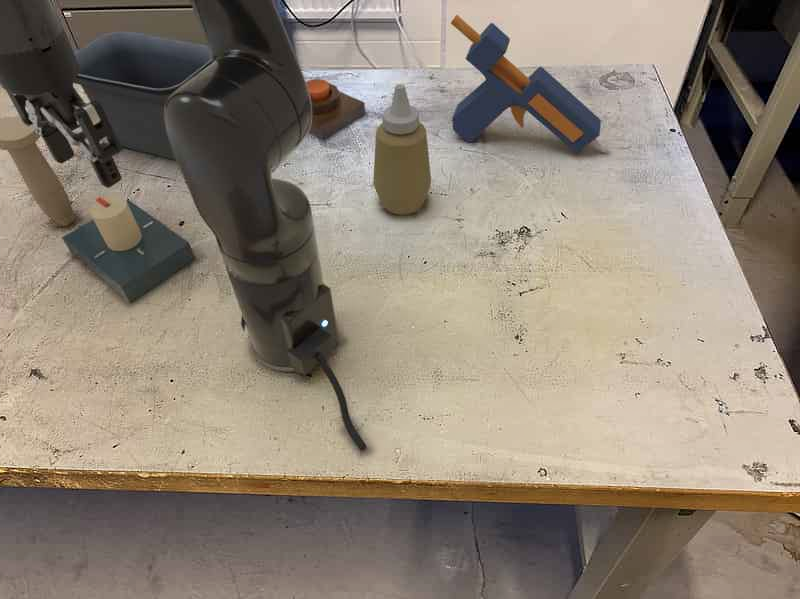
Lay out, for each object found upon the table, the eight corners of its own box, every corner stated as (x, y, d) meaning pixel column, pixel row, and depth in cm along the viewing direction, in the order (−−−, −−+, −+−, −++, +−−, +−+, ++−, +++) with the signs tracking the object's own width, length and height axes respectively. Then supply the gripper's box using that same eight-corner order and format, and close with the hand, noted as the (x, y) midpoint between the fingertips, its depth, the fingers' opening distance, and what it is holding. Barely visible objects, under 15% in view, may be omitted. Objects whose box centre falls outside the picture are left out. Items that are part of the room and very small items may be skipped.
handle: (68, 237, 82) (12, 144, 71) (35, 224, 84) (-24, 132, 73) (94, 216, 85) (44, 124, 74) (62, 204, 87) (9, 112, 76)
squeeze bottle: (365, 195, 87) (355, 80, 73) (414, 179, 89) (413, 64, 76) (390, 228, 82) (384, 111, 69) (441, 209, 84) (445, 92, 71)
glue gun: (546, 204, 100) (619, 150, 90) (398, 96, 90) (460, 20, 79) (547, 180, 104) (617, 125, 93) (405, 74, 94) (465, -1, 83)
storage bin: (89, 151, 96) (47, 66, 85) (150, 103, 105) (119, 21, 95) (199, 180, 90) (170, 93, 80) (253, 126, 100) (233, 42, 89)
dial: (148, 237, 77) (132, 203, 73) (119, 256, 75) (100, 221, 71) (129, 223, 79) (113, 188, 75) (100, 241, 77) (81, 206, 73)
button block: (365, 114, 101) (363, 92, 98) (323, 140, 96) (320, 118, 93) (316, 91, 107) (313, 70, 104) (274, 115, 102) (269, 94, 99)
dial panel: (195, 259, 79) (188, 241, 77) (130, 303, 74) (120, 286, 72) (135, 215, 85) (127, 198, 83) (71, 253, 80) (60, 236, 78)
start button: (335, 94, 99) (334, 84, 98) (316, 105, 97) (315, 95, 95) (317, 85, 101) (315, 76, 100) (298, 96, 99) (296, 86, 97)
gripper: (-59, 30, 58) (23, 168, 70) (29, 68, 52) (102, 210, 65) (11, 2, 62) (77, 137, 74) (99, 34, 57) (155, 174, 69)
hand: (89, 171), depth 69 cm, fingers open, 8 cm apart
